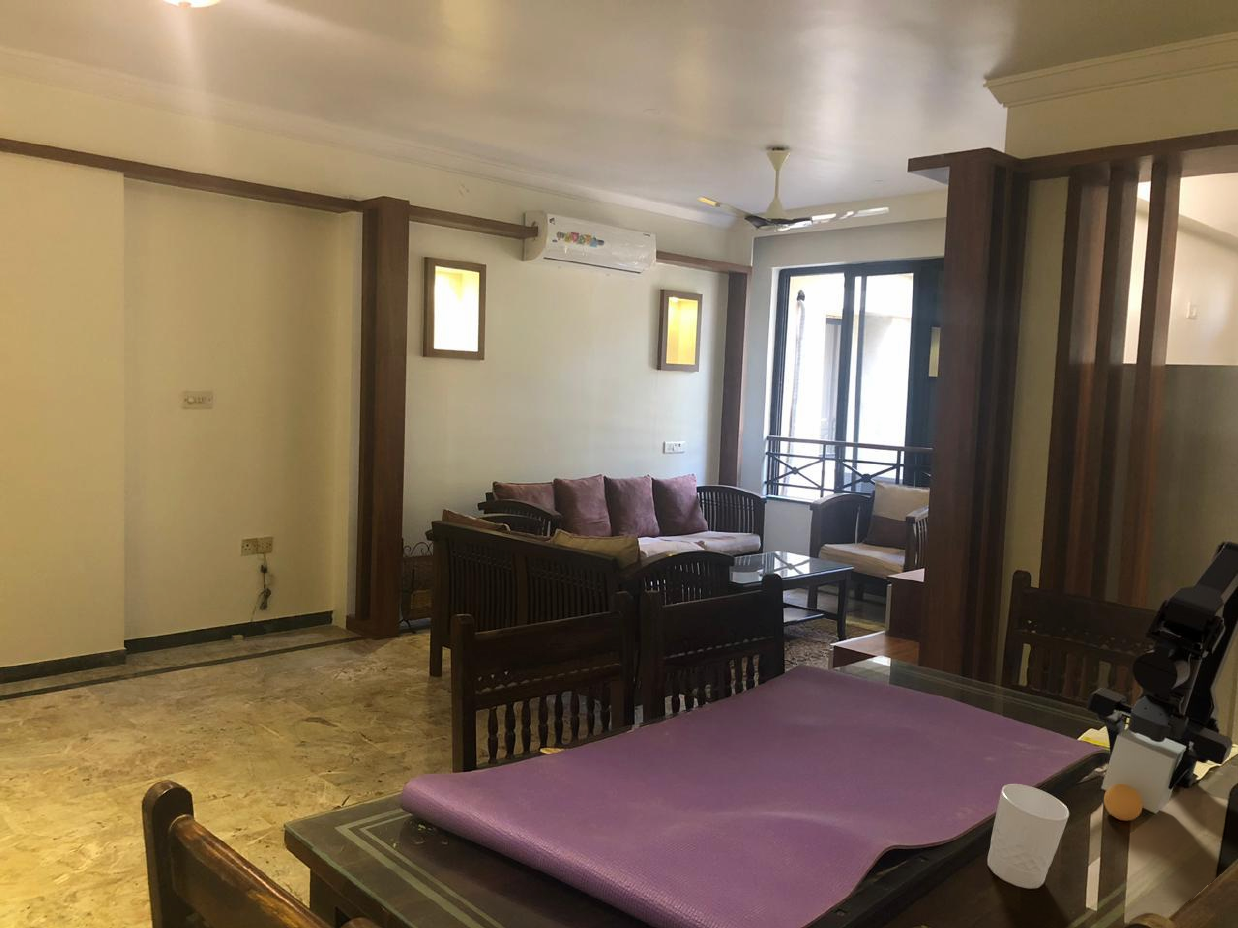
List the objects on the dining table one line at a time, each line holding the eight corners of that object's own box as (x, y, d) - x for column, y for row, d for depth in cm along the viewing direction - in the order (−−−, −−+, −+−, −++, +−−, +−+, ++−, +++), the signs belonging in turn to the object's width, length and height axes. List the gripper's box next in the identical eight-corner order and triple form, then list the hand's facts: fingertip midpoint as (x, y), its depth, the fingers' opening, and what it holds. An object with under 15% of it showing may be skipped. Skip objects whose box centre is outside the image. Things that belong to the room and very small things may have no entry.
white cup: (1036, 860, 123) (1056, 791, 121) (1056, 898, 115) (1078, 825, 113) (975, 847, 124) (994, 778, 122) (991, 883, 116) (1012, 810, 114)
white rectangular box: (1116, 775, 149) (1131, 723, 147) (1169, 799, 144) (1186, 746, 142) (1101, 787, 143) (1117, 735, 142) (1156, 813, 138) (1173, 758, 137)
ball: (1105, 804, 142) (1114, 774, 141) (1141, 821, 139) (1151, 790, 138) (1095, 813, 138) (1104, 783, 138) (1131, 831, 135) (1141, 800, 134)
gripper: (1088, 664, 141) (1060, 759, 143) (1231, 719, 128) (1197, 822, 131) (1111, 652, 149) (1084, 742, 152) (1247, 702, 136) (1214, 800, 139)
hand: (1141, 775), depth 143 cm, fingers closed on white rectangular box, 8 cm apart
